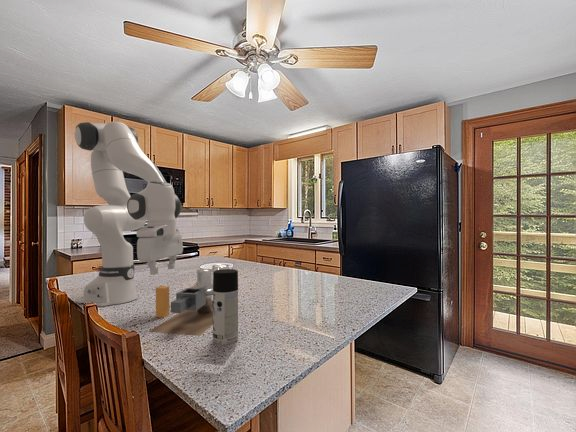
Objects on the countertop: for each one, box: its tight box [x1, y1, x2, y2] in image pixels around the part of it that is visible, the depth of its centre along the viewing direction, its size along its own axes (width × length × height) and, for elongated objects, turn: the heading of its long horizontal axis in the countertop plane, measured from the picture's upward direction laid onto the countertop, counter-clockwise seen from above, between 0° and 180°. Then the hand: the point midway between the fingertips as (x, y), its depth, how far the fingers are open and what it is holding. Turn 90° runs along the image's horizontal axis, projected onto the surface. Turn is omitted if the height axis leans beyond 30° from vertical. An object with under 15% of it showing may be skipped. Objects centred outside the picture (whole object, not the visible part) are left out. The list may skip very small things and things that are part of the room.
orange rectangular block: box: [155, 285, 170, 318], centre depth 99 cm, size 3×3×11 cm
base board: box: [148, 304, 213, 337], centre depth 97 cm, size 16×26×2 cm, turn 170°
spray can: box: [212, 268, 239, 346], centre depth 80 cm, size 7×7×20 cm
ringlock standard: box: [170, 268, 213, 314], centre depth 97 cm, size 11×24×14 cm, turn 170°
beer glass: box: [211, 263, 230, 285], centre depth 117 cm, size 7×7×15 cm
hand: (163, 271), depth 99 cm, fingers open, 8 cm apart
